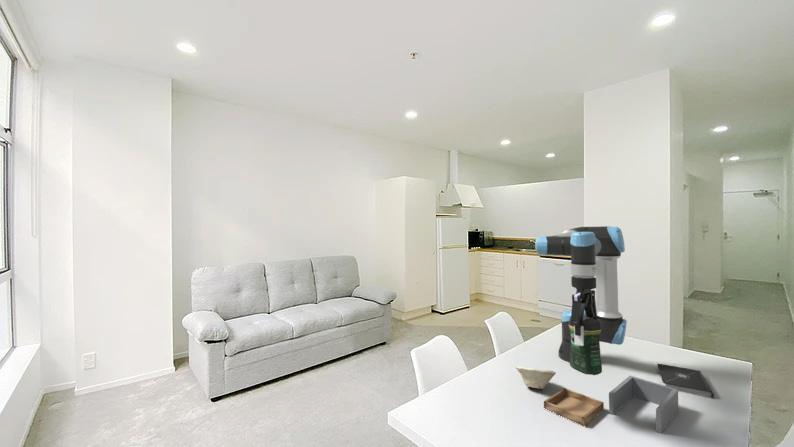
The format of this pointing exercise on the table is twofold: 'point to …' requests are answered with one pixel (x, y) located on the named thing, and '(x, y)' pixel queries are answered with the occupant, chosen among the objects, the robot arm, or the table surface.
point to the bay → (646, 398)
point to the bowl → (535, 376)
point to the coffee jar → (587, 348)
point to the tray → (574, 406)
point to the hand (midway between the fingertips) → (584, 341)
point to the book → (685, 380)
